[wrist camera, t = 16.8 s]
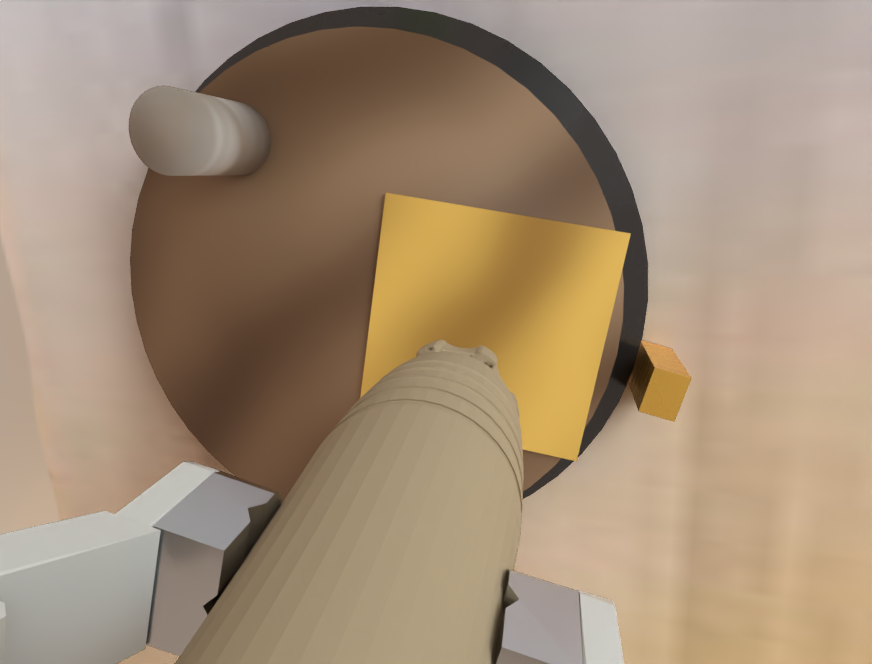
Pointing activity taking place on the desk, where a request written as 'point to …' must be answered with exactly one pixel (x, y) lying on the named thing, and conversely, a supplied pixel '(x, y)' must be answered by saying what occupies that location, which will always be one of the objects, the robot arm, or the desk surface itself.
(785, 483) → the desk surface
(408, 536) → the handle
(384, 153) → the disc
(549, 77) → the wheel base
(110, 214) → the desk surface
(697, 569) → the desk surface
